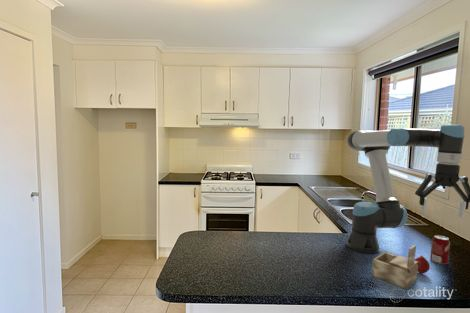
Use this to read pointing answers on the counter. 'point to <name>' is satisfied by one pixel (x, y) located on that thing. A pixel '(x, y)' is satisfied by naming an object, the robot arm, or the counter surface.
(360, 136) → the robot arm
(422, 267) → the onion
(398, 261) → the lid
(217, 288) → the counter surface
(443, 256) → the soda can
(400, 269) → the wooden box
